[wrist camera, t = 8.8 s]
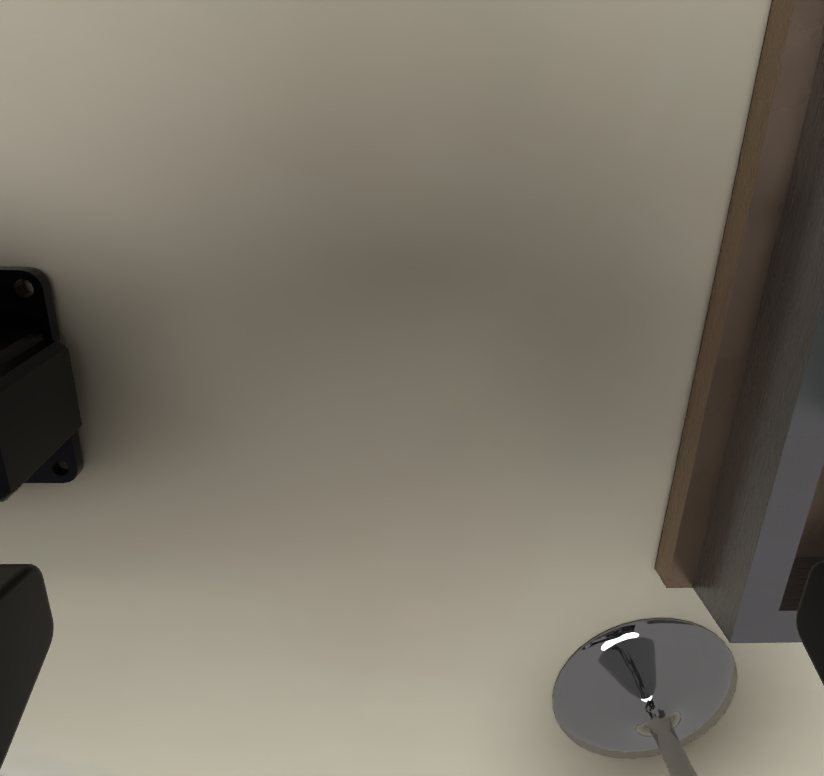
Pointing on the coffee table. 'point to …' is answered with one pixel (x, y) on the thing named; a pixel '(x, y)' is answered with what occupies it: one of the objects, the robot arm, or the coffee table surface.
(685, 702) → the wine glass
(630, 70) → the coffee table surface
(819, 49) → the grey long open box
